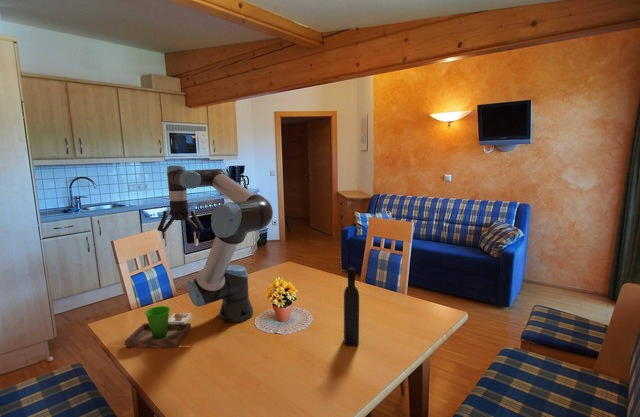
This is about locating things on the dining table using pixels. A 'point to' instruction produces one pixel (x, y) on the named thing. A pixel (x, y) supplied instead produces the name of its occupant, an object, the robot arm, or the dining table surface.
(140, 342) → the tray
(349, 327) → the wine bottle
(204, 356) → the dining table surface
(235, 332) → the dining table surface
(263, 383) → the dining table surface
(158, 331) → the cup
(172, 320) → the dish
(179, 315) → the ball
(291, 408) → the dining table surface
